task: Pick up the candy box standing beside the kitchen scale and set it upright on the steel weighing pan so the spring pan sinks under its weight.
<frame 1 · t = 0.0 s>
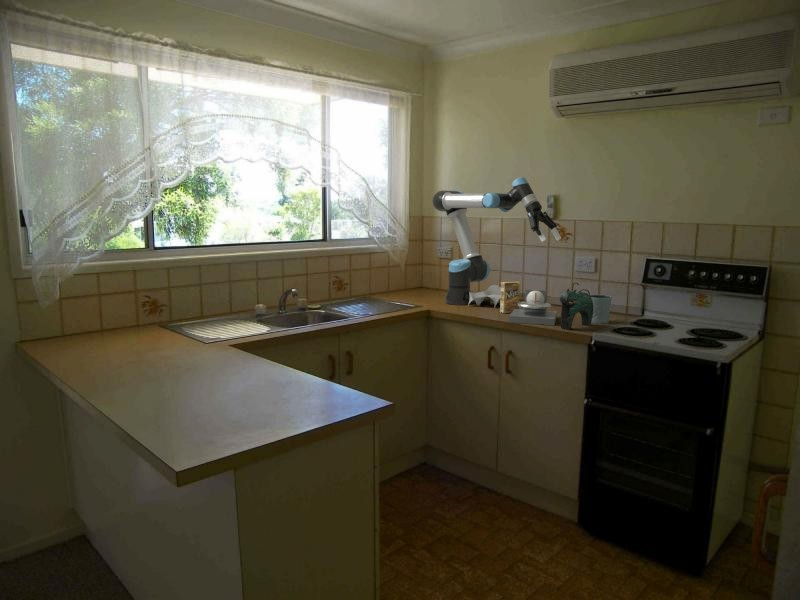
hand: (551, 240, 287), 36 cm above the counter, tool tilted 35°, fingers open, 13 cm apart
pale blue cup: (598, 322, 268), on the counter
candy box: (509, 312, 290), on the counter
scale pan: (533, 306, 270), point 7 cm above the counter, slide at -0.4 cm
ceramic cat: (575, 327, 255), on the counter
white irregular piece: (488, 304, 315), on the counter
kitchen scale: (533, 319, 271), on the counter
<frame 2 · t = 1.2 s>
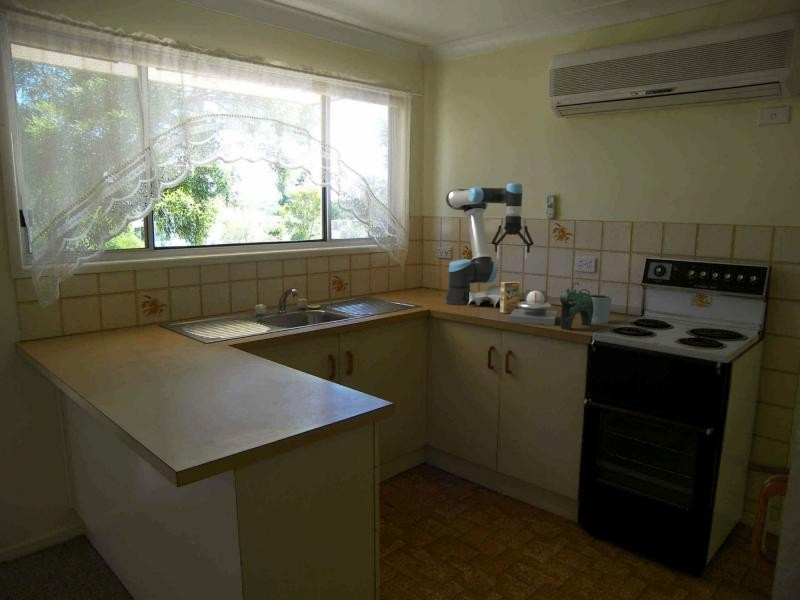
hand: (511, 259, 285), 27 cm above the counter, tool pointing down, fingers open, 13 cm apart
nothing on the counter moved.
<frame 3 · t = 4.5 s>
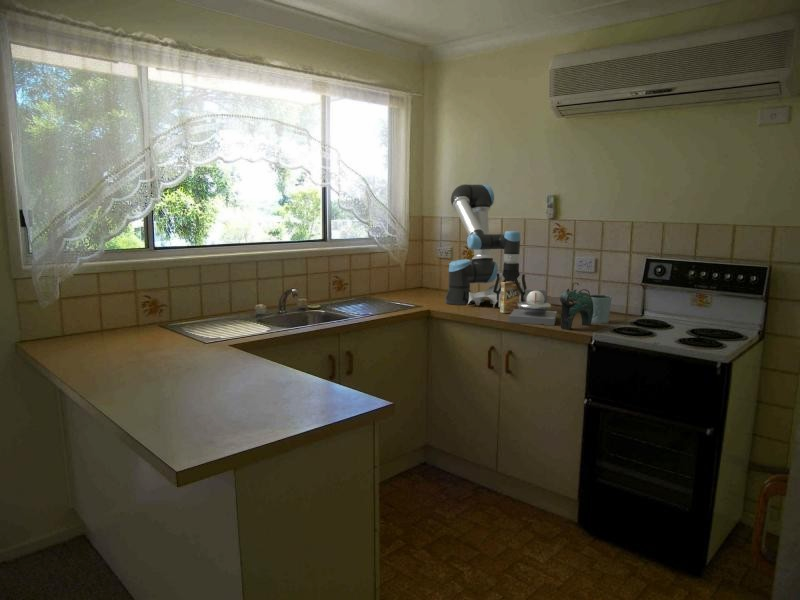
hand: (509, 307, 289), 3 cm above the counter, tool pointing down, fingers closed on candy box, 9 cm apart
candy box: (509, 312, 290), on the counter, touching gripper
everything else where it was.
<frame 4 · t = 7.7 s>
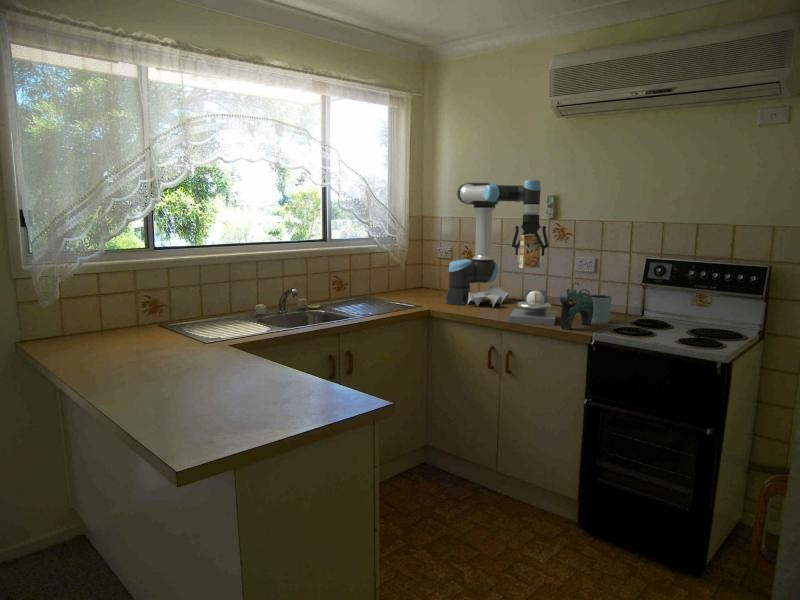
hand: (529, 262, 271), 26 cm above the counter, tool pointing down, fingers closed on candy box, 9 cm apart
candy box: (529, 268, 271), point 24 cm above the counter, touching gripper
everything else where it was.
when the fingers open (11 cm above the counter, at t = 10.9 s): candy box drops 3 cm, resting on scale pan.
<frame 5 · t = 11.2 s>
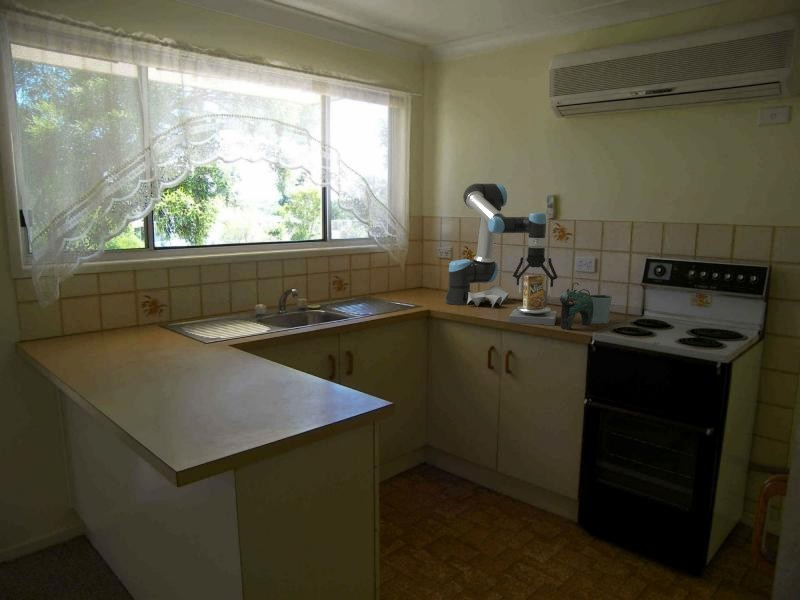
hand: (534, 293, 269), 13 cm above the counter, tool pointing down, fingers open, 13 cm apart
candy box: (533, 308, 270), point 5 cm above the counter, touching scale pan
scale pan: (533, 310, 270), point 4 cm above the counter, slide at -2.5 cm, touching candy box
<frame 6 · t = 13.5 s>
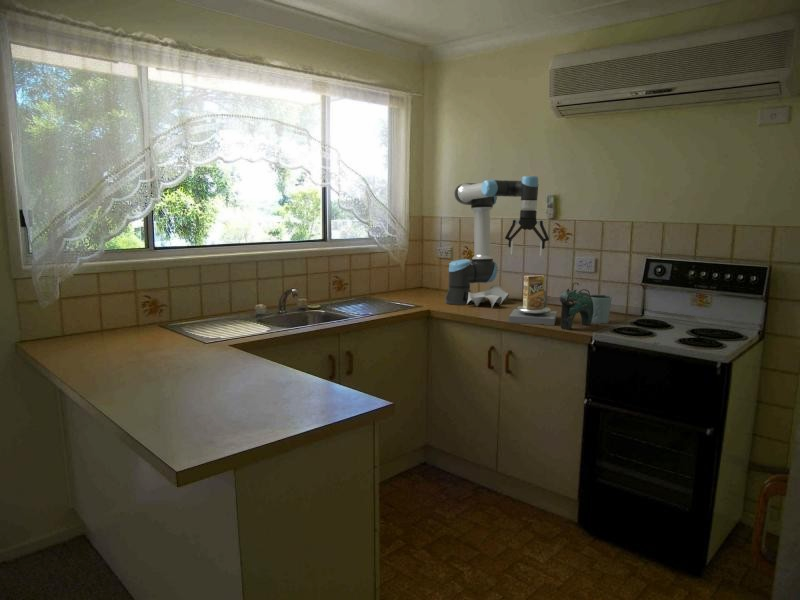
hand: (526, 255, 275), 30 cm above the counter, tool pointing down, fingers open, 13 cm apart
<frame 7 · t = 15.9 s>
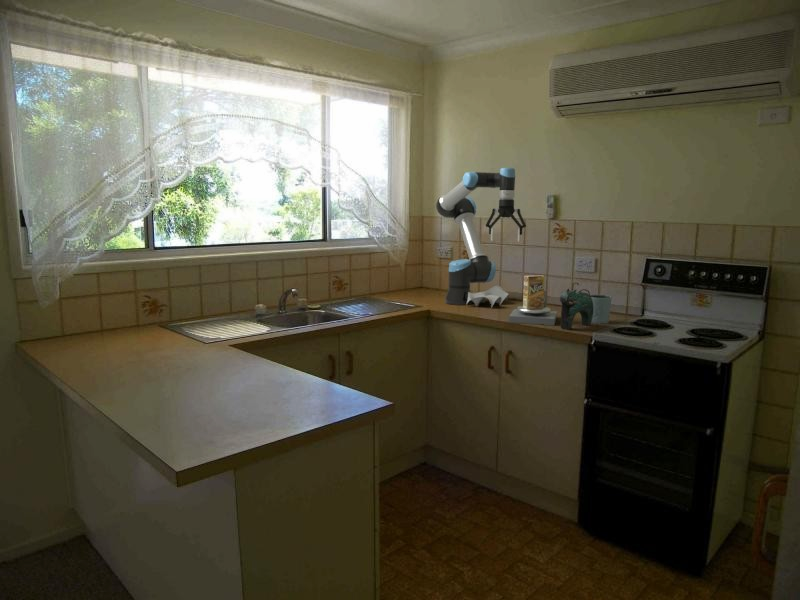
hand: (505, 241, 297), 35 cm above the counter, tool pointing down, fingers open, 13 cm apart
at the end: candy box inside the target area on the kitchen scale (0.2 cm from its centre), point 5.3 cm above the kitchen scale's base; candy box tilted 0°; the gripper is holding nothing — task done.
